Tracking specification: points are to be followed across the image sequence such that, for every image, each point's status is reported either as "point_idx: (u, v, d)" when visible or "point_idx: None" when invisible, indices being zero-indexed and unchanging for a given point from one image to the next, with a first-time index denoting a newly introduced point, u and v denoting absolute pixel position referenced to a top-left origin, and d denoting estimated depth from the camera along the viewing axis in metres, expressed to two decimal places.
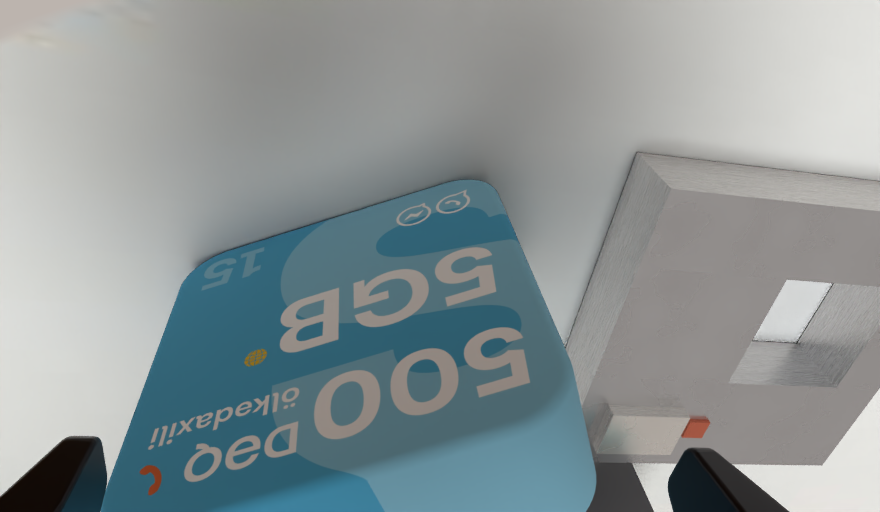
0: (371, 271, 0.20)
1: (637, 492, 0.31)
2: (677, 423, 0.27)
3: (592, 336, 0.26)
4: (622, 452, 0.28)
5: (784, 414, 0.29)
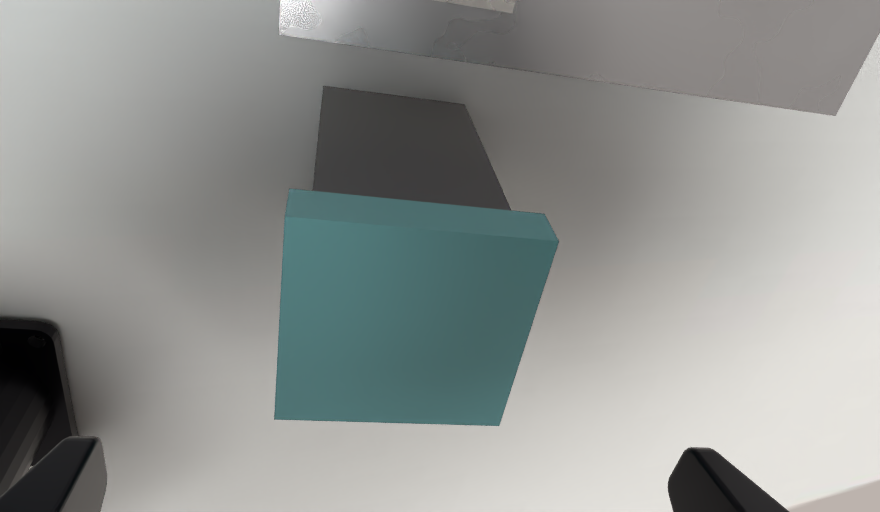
0: None
1: (468, 147, 0.15)
2: None
3: None
4: None
5: None
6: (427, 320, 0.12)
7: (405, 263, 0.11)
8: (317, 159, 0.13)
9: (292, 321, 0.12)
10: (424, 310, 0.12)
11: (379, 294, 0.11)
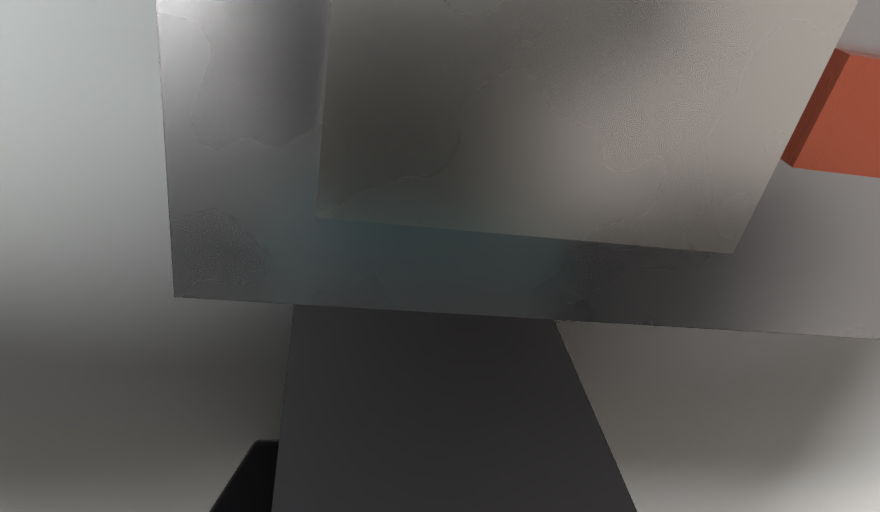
0: None
1: (584, 461, 0.08)
2: (794, 2, 0.04)
3: None
4: (471, 218, 0.05)
5: None
6: None
7: None
8: None
9: None
10: None
11: None
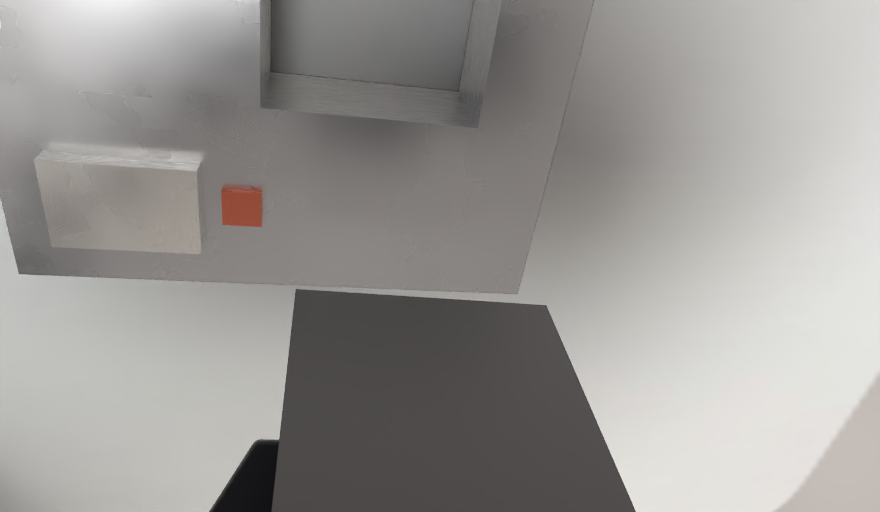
0: None
1: (584, 463, 0.08)
2: (176, 183, 0.15)
3: None
4: (102, 245, 0.16)
5: (403, 184, 0.17)
6: None
7: None
8: None
9: None
10: None
11: None
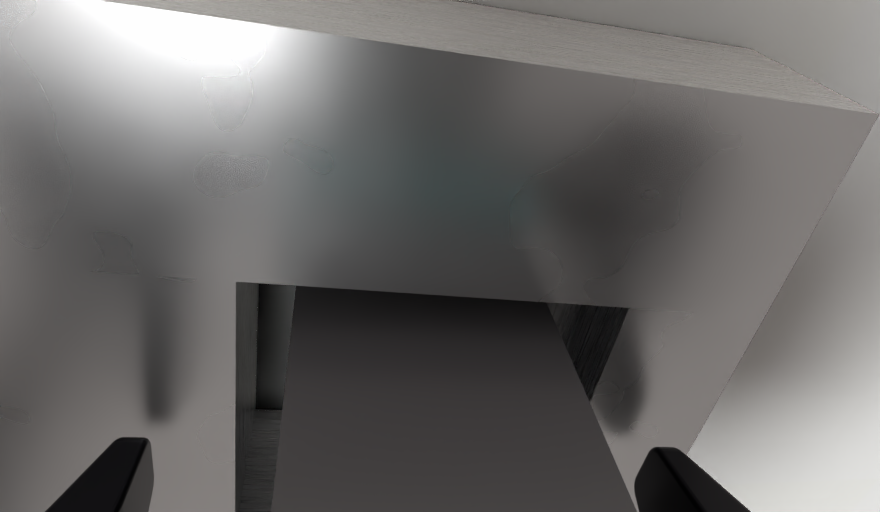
0: None
1: (541, 349, 0.09)
2: None
3: None
4: None
5: None
6: None
7: None
8: (282, 430, 0.07)
9: None
10: None
11: None
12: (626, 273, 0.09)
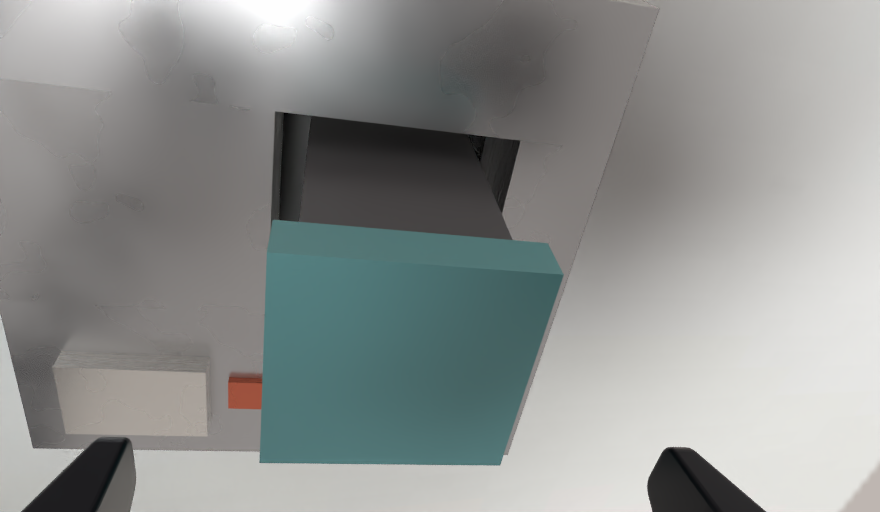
0: None
1: (465, 167, 0.15)
2: (186, 382, 0.16)
3: None
4: (114, 431, 0.17)
5: None
6: (423, 359, 0.11)
7: (399, 299, 0.10)
8: (305, 183, 0.12)
9: (277, 361, 0.11)
10: (419, 348, 0.11)
11: (370, 332, 0.11)
12: (516, 114, 0.14)
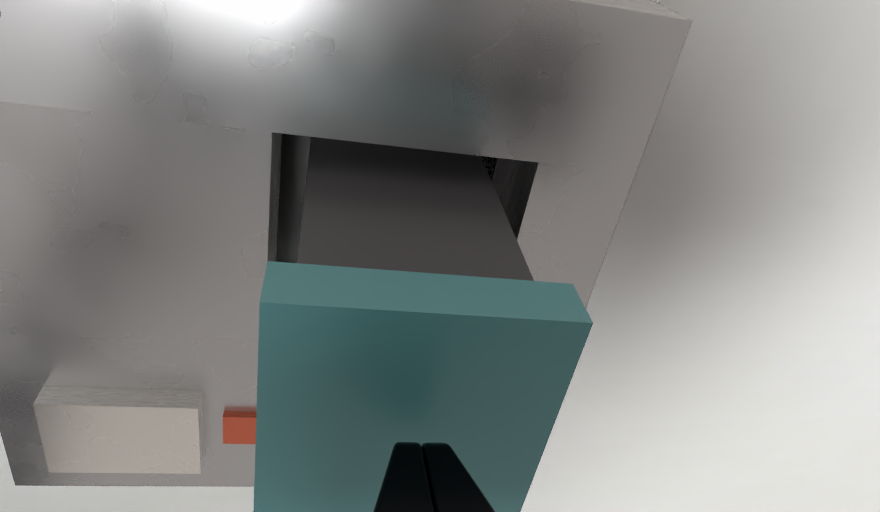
0: None
1: (478, 191, 0.13)
2: (177, 418, 0.15)
3: None
4: (101, 469, 0.16)
5: None
6: (434, 412, 0.10)
7: (408, 351, 0.09)
8: (304, 213, 0.11)
9: (272, 418, 0.10)
10: (430, 402, 0.10)
11: (376, 386, 0.10)
12: (534, 135, 0.13)
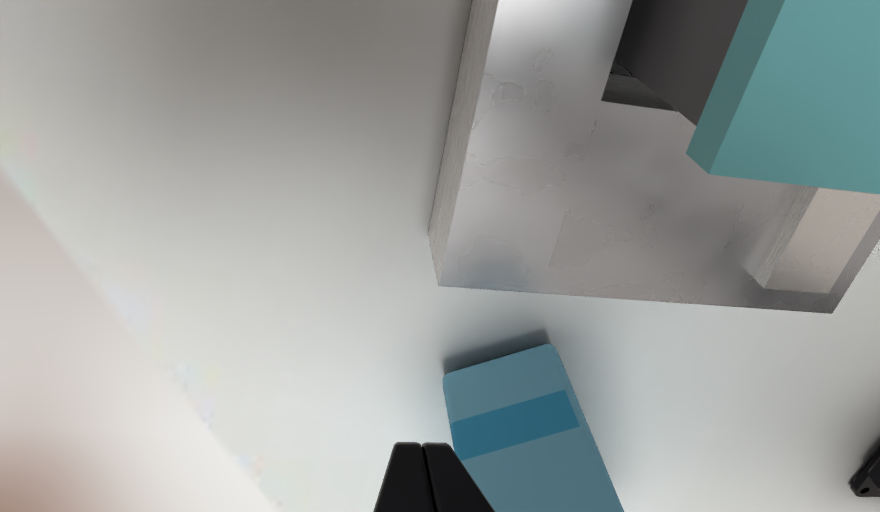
0: None
1: None
2: (821, 203, 0.18)
3: None
4: (844, 262, 0.20)
5: None
6: (868, 48, 0.11)
7: (791, 71, 0.11)
8: (665, 99, 0.15)
9: (811, 175, 0.13)
10: (854, 51, 0.11)
11: (816, 97, 0.12)
12: None
